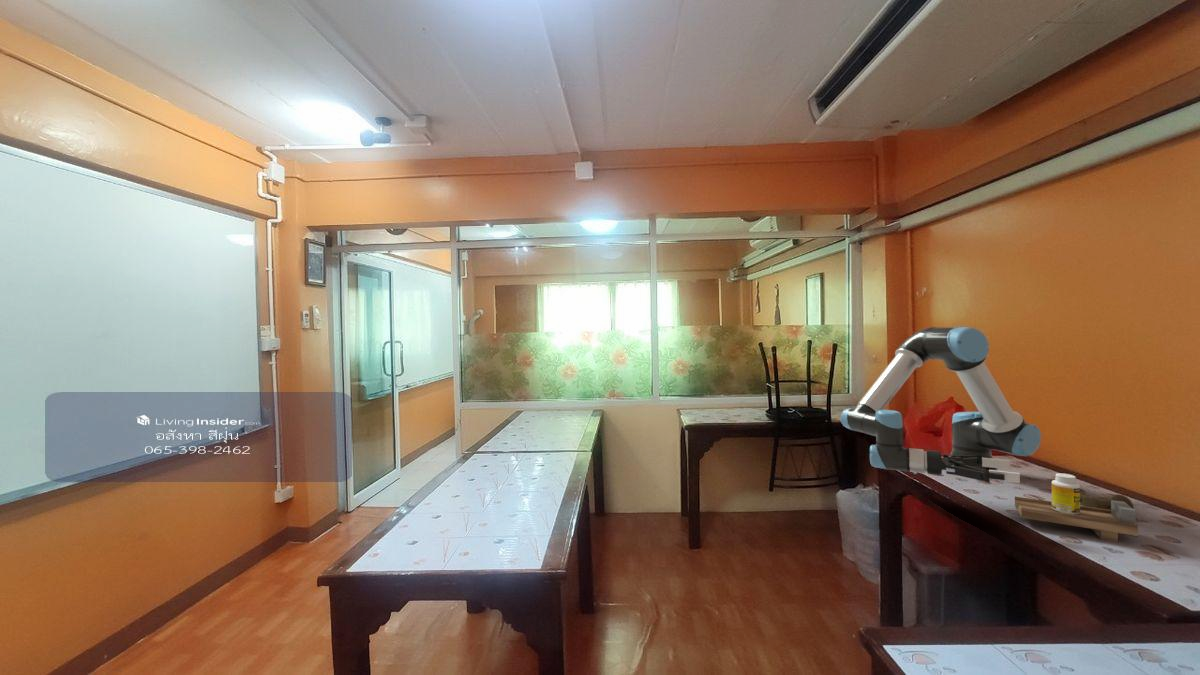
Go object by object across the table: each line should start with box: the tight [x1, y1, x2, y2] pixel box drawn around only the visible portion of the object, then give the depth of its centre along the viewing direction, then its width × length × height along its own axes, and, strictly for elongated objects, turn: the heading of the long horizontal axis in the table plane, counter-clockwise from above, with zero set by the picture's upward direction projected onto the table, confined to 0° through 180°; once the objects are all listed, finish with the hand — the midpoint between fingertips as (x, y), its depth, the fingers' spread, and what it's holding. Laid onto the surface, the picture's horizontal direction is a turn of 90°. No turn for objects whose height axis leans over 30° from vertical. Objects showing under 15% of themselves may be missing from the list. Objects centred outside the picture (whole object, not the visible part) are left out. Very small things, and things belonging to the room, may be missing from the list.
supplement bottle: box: [1051, 472, 1081, 515], centre depth 126 cm, size 6×6×10 cm
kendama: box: [1080, 488, 1135, 510], centre depth 138 cm, size 6×10×20 cm
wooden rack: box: [1014, 496, 1139, 543], centre depth 125 cm, size 10×22×8 cm, turn 56°
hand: (1014, 471), depth 133 cm, fingers open, 13 cm apart
